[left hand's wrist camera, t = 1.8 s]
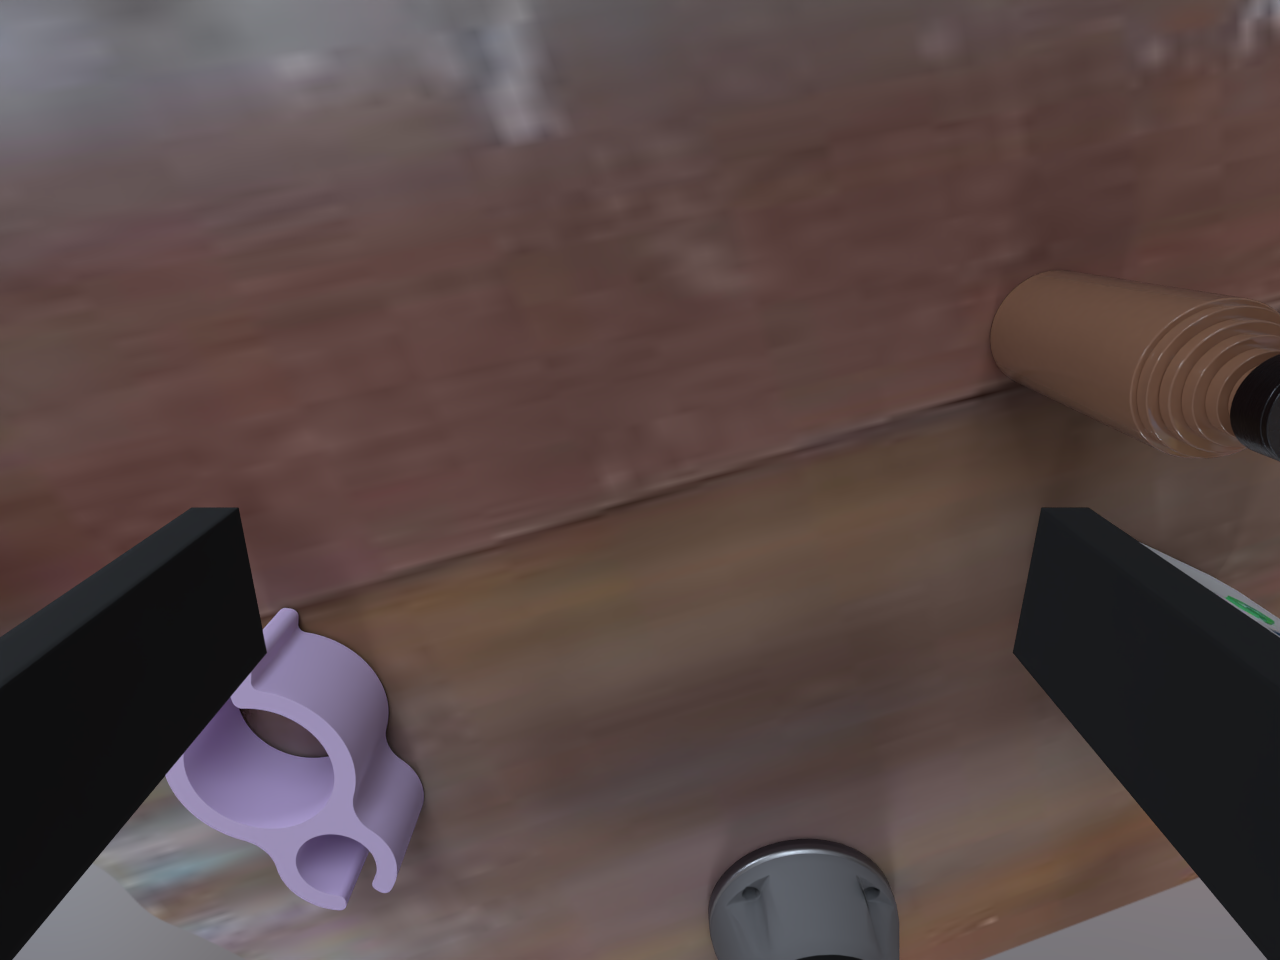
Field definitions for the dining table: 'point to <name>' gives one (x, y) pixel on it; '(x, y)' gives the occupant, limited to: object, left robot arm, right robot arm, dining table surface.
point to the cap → (1259, 409)
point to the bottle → (1136, 355)
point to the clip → (307, 769)
